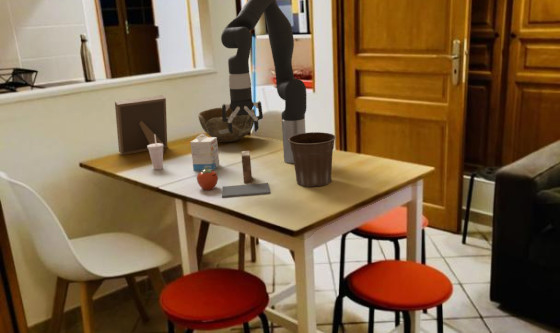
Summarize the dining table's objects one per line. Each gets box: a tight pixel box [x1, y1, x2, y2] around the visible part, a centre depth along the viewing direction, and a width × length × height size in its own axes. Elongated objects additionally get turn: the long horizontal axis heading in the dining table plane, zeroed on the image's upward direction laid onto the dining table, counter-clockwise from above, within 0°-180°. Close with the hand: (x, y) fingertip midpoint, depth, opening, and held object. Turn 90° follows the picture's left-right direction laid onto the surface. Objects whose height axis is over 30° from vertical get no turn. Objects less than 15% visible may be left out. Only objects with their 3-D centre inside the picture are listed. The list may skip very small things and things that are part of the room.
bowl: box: [198, 106, 256, 143], centre depth 249 cm, size 28×27×15 cm
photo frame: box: [114, 94, 168, 156], centre depth 236 cm, size 15×22×25 cm
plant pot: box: [288, 131, 337, 188], centre depth 181 cm, size 16×16×16 cm
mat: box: [221, 182, 271, 199], centre depth 178 cm, size 16×10×1 cm, turn 95°
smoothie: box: [147, 134, 164, 170], centre depth 210 cm, size 6×6×14 cm
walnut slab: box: [241, 150, 253, 184], centre depth 188 cm, size 3×7×10 cm, turn 5°
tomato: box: [196, 167, 219, 191], centre depth 182 cm, size 7×7×8 cm
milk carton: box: [189, 133, 220, 171], centre depth 207 cm, size 9×8×13 cm
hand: (243, 132), depth 185 cm, fingers open, 8 cm apart
